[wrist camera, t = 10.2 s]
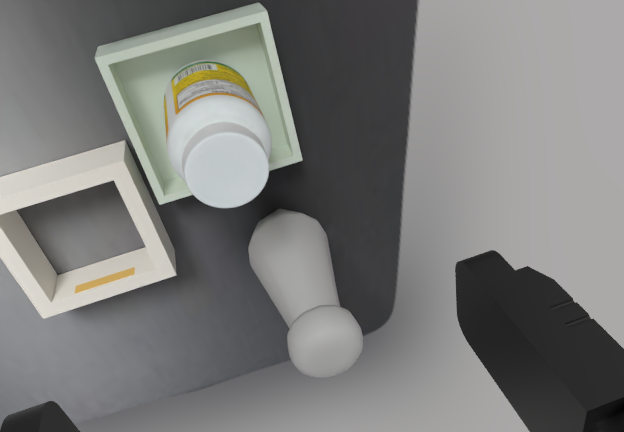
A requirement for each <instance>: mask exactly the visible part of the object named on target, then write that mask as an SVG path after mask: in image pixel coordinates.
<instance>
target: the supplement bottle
mask: <svg viewBox="0 0 624 432" xmlns="http://www.w3.org/2000/svg"><path fill="white" fill-rule="evenodd" d="M164 115H165V127H166V142H167V152H168V156H169V160H170V162H171V164H172V167H173V168H174V170H175V171H176V173H177V174H178V175H179V177H180V178H181V179H182V180H183V181H185V182H186V184H187V186H188V188H189V190H190V192H191V193H192V194H193V195H194V196H195V197H196V198H197V199H198V200H200V201H201V202H203V203H205V204H207V205H209V206H212V207H217V208H234V207H238V206H241V205H244V204H246V203H248V202H250V201H251V200H253V199H254V198H255V197H256V196H257V195H258V194H259V193H260V192H261V191H262V189H263V188H264V186H265V184H266V182H267V179H268V175H269V159H270V155H271V149H272V139H271V133H270V129H269V127H268V124H267V122H266V120H265V118H264V116H263V114H262V112H261V110H260V108H259V106H258V104H257V102H256V100H255V98H254V96H253V94H252V92H251V90H250V88H249V86H248V84H247V82H246V80H245V79H244V77H243V76H242V75H241V74H240V73H239V72H238V71H237V70H236V69H234V68H233V67H231V66H230V65H228V64H226V63H223V62H220V61H216V60H198V61H194V62H191V63H189V64H187V65H185V66H183V67H181V68H180V69H179V70H178V71H177V72H176V73H175V74H174V75H173V76H172V77H171V79H170V80H169V82H168V84H167V87H166V90H165V94H164Z"/></svg>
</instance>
